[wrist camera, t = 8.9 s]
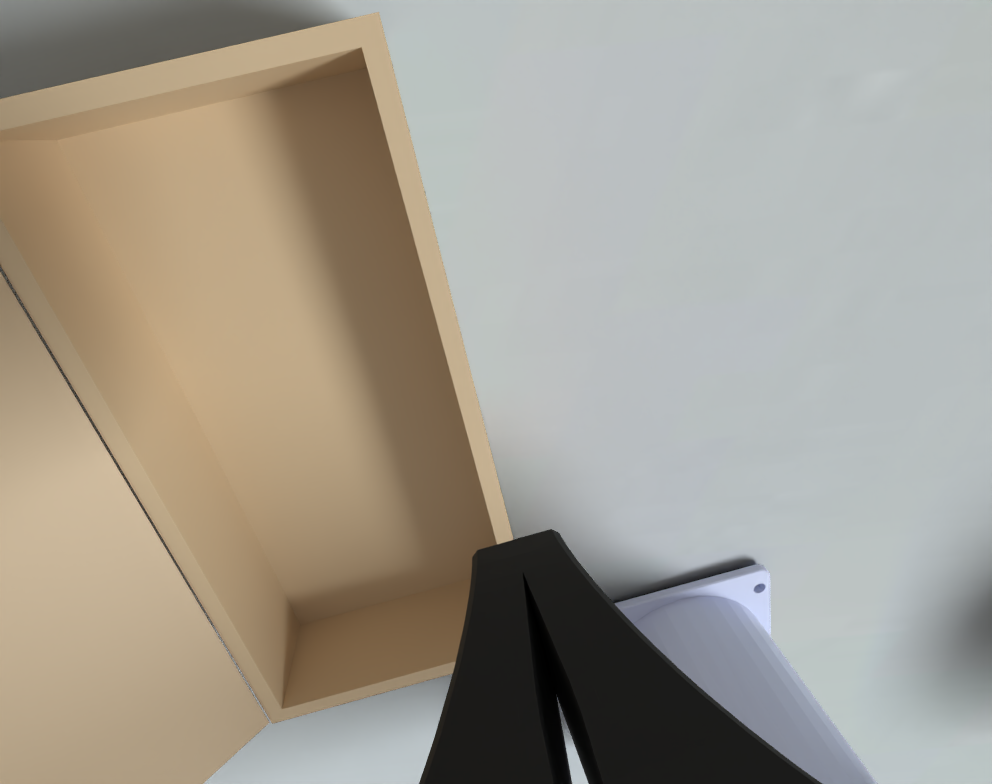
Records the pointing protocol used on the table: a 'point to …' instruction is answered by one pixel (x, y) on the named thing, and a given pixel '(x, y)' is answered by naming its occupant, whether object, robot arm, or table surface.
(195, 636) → the lid flap
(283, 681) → the carton
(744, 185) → the table surface
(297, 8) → the table surface
